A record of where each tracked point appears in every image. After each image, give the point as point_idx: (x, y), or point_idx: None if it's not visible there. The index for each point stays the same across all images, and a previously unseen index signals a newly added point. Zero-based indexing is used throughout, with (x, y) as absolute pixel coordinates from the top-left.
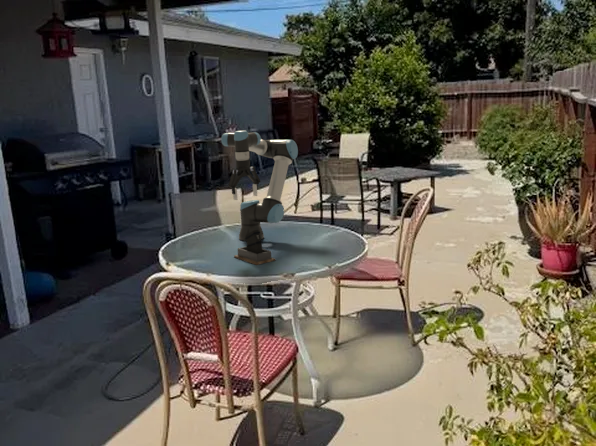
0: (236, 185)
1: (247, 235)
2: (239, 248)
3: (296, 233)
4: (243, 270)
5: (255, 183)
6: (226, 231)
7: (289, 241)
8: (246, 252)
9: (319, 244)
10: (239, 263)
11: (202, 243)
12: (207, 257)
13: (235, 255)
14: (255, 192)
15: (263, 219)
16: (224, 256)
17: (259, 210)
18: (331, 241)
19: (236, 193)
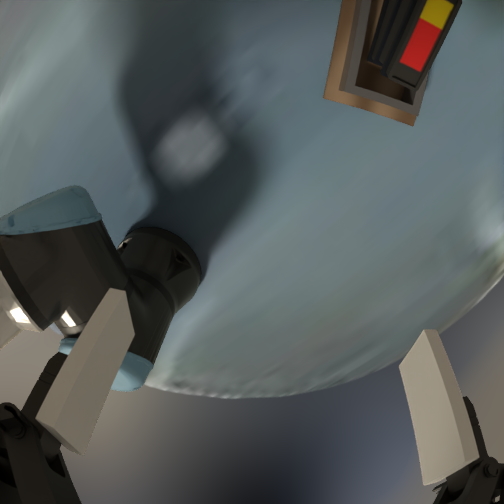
0: (465, 499)
1: (429, 64)
2: (416, 106)
3: (34, 191)
4: (494, 8)
5: (43, 441)
6: (167, 361)
7: (95, 121)
8: None
9: (68, 13)
10: (456, 57)
11: (306, 338)
12: (445, 214)
13: (409, 122)
14: (108, 335)
15: (110, 241)
16: (415, 169)
17: (99, 286)
18: (29, 27)
19: (454, 396)
